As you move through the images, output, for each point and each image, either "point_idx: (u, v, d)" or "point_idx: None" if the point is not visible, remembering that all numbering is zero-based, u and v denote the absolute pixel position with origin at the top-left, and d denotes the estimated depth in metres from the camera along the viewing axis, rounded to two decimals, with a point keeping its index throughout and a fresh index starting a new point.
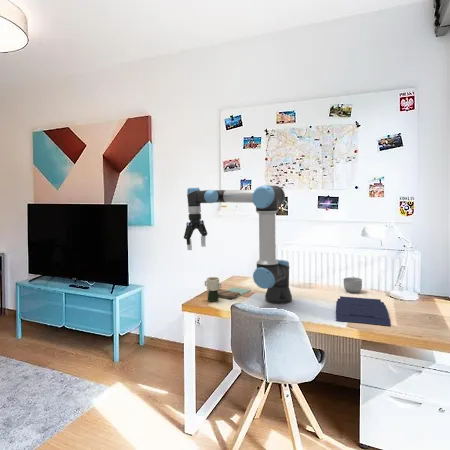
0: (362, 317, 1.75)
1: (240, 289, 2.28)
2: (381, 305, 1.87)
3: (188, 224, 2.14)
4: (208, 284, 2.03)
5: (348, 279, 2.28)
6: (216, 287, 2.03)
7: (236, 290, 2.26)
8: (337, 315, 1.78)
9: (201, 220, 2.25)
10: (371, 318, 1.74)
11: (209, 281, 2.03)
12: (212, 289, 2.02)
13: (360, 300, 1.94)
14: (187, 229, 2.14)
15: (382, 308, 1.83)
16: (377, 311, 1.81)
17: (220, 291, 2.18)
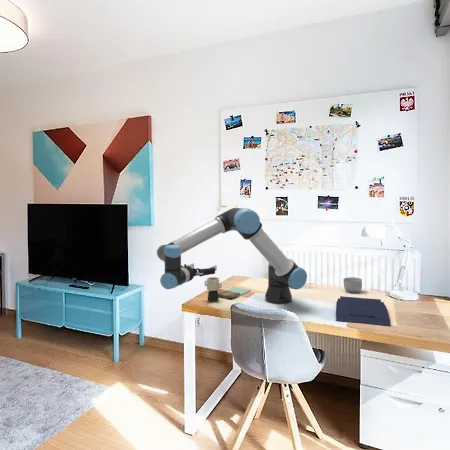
0: (362, 317, 1.75)
1: (240, 289, 2.28)
2: (381, 305, 1.87)
3: (202, 273, 1.79)
4: (208, 284, 2.03)
5: (348, 279, 2.28)
6: (216, 287, 2.03)
7: (236, 290, 2.26)
8: (337, 315, 1.78)
9: None
10: (371, 318, 1.74)
11: (209, 281, 2.03)
12: (212, 289, 2.02)
13: (360, 300, 1.94)
14: (207, 272, 1.81)
15: (382, 308, 1.84)
16: (377, 311, 1.81)
17: (220, 291, 2.18)
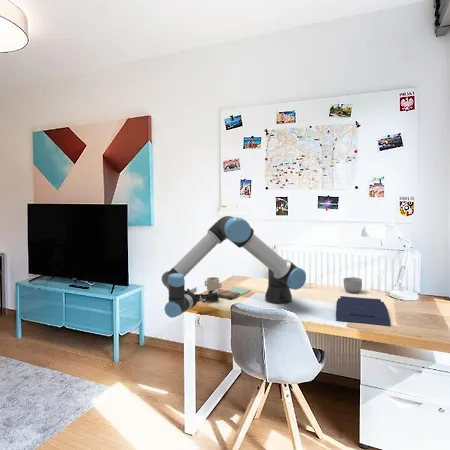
0: (362, 317, 1.75)
1: (240, 289, 2.28)
2: (381, 305, 1.87)
3: (205, 299, 1.83)
4: (208, 284, 2.03)
5: (348, 279, 2.28)
6: (216, 287, 2.03)
7: (236, 290, 2.26)
8: (337, 315, 1.78)
9: None
10: (371, 318, 1.74)
11: (209, 281, 2.03)
12: (212, 289, 2.02)
13: (360, 300, 1.94)
14: (209, 298, 1.86)
15: (382, 308, 1.84)
16: (377, 310, 1.81)
17: (220, 291, 2.18)
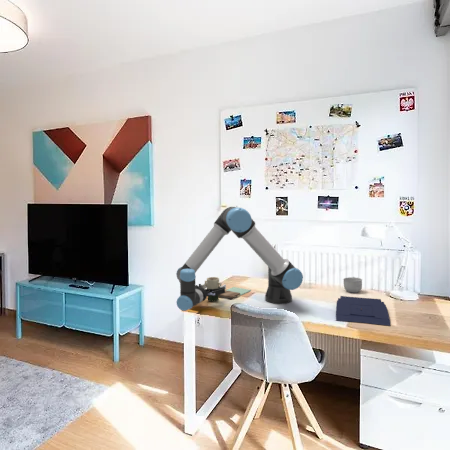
0: (362, 317, 1.76)
1: (240, 289, 2.28)
2: (381, 305, 1.87)
3: (214, 293, 1.93)
4: (208, 284, 2.03)
5: (348, 279, 2.28)
6: (216, 287, 2.03)
7: (236, 290, 2.26)
8: (337, 315, 1.79)
9: None
10: (371, 318, 1.74)
11: (209, 281, 2.03)
12: None
13: (360, 300, 1.94)
14: (218, 292, 1.95)
15: (382, 308, 1.84)
16: (377, 310, 1.81)
17: None
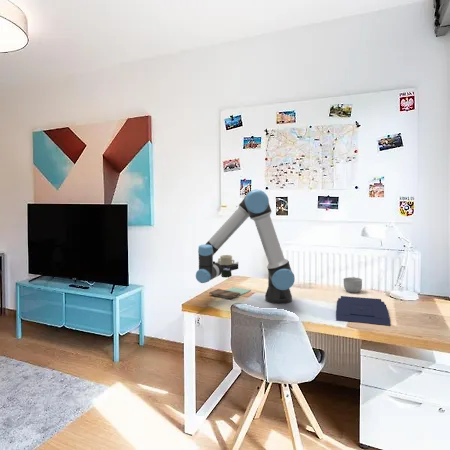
0: (362, 316, 1.76)
1: (240, 289, 2.28)
2: (381, 305, 1.87)
3: (229, 268, 2.05)
4: (222, 261, 2.16)
5: (348, 279, 2.28)
6: (229, 264, 2.16)
7: (236, 290, 2.26)
8: (337, 315, 1.79)
9: None
10: (371, 317, 1.74)
11: (223, 258, 2.15)
12: None
13: (360, 300, 1.94)
14: (232, 267, 2.08)
15: (382, 308, 1.84)
16: (377, 310, 1.81)
17: (220, 291, 2.18)
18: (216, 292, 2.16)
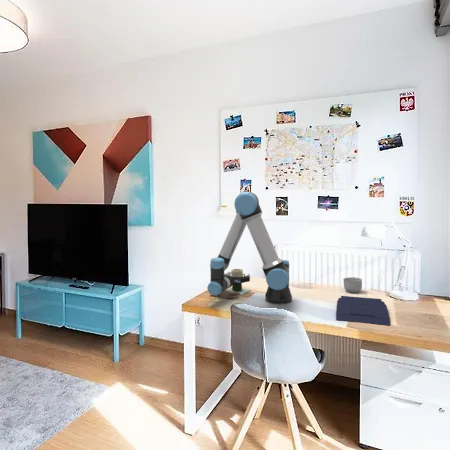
0: (362, 316, 1.76)
1: None
2: (382, 305, 1.87)
3: (239, 281, 2.11)
4: (233, 275, 2.22)
5: (348, 279, 2.28)
6: None
7: None
8: (337, 314, 1.79)
9: None
10: (371, 317, 1.75)
11: (234, 272, 2.21)
12: None
13: (361, 299, 1.94)
14: (243, 280, 2.13)
15: (382, 307, 1.84)
16: (377, 310, 1.82)
17: None
18: None
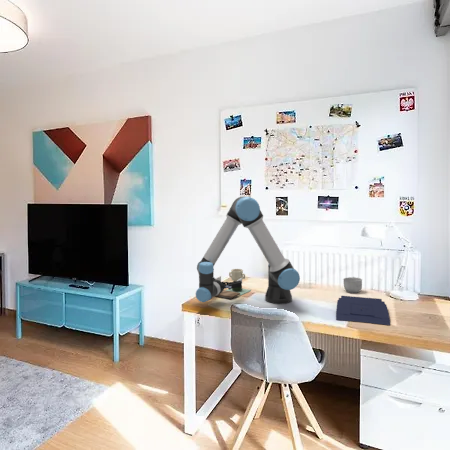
0: (362, 316, 1.76)
1: None
2: (382, 305, 1.88)
3: (230, 286, 1.99)
4: (233, 275, 2.22)
5: (348, 279, 2.28)
6: None
7: None
8: (337, 314, 1.80)
9: None
10: (371, 317, 1.75)
11: (234, 272, 2.21)
12: (236, 280, 2.21)
13: (361, 299, 1.95)
14: (234, 285, 2.01)
15: (383, 307, 1.84)
16: (377, 310, 1.82)
17: None
18: None
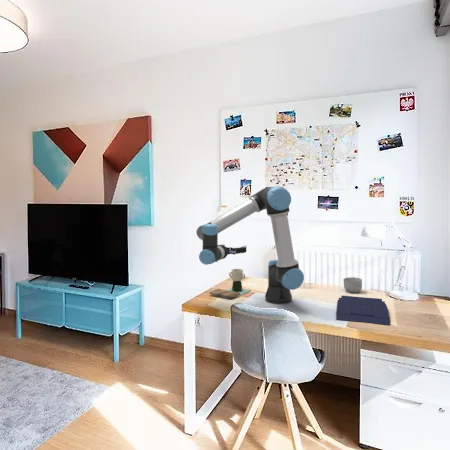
0: (362, 316, 1.77)
1: None
2: (382, 305, 1.88)
3: (235, 251, 1.92)
4: (233, 275, 2.22)
5: (348, 279, 2.28)
6: (240, 278, 2.22)
7: None
8: (337, 314, 1.80)
9: None
10: (371, 317, 1.75)
11: (234, 272, 2.21)
12: (236, 280, 2.21)
13: (361, 299, 1.95)
14: (239, 250, 1.94)
15: (383, 307, 1.85)
16: (377, 310, 1.82)
17: (220, 291, 2.18)
18: (216, 292, 2.16)
